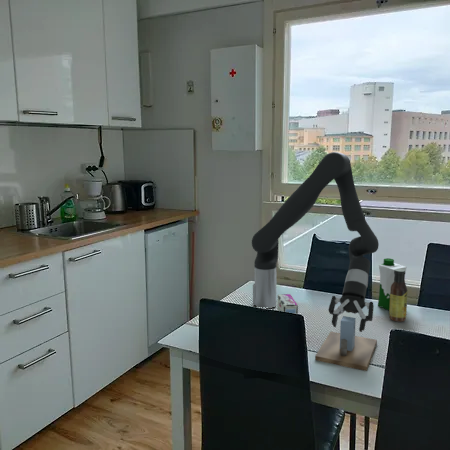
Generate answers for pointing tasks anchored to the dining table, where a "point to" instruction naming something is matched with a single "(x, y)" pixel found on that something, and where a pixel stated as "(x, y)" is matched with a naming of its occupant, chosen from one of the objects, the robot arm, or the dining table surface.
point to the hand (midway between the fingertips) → (347, 328)
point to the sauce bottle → (398, 297)
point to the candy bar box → (287, 304)
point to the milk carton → (387, 281)
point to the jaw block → (348, 331)
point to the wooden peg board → (347, 352)
